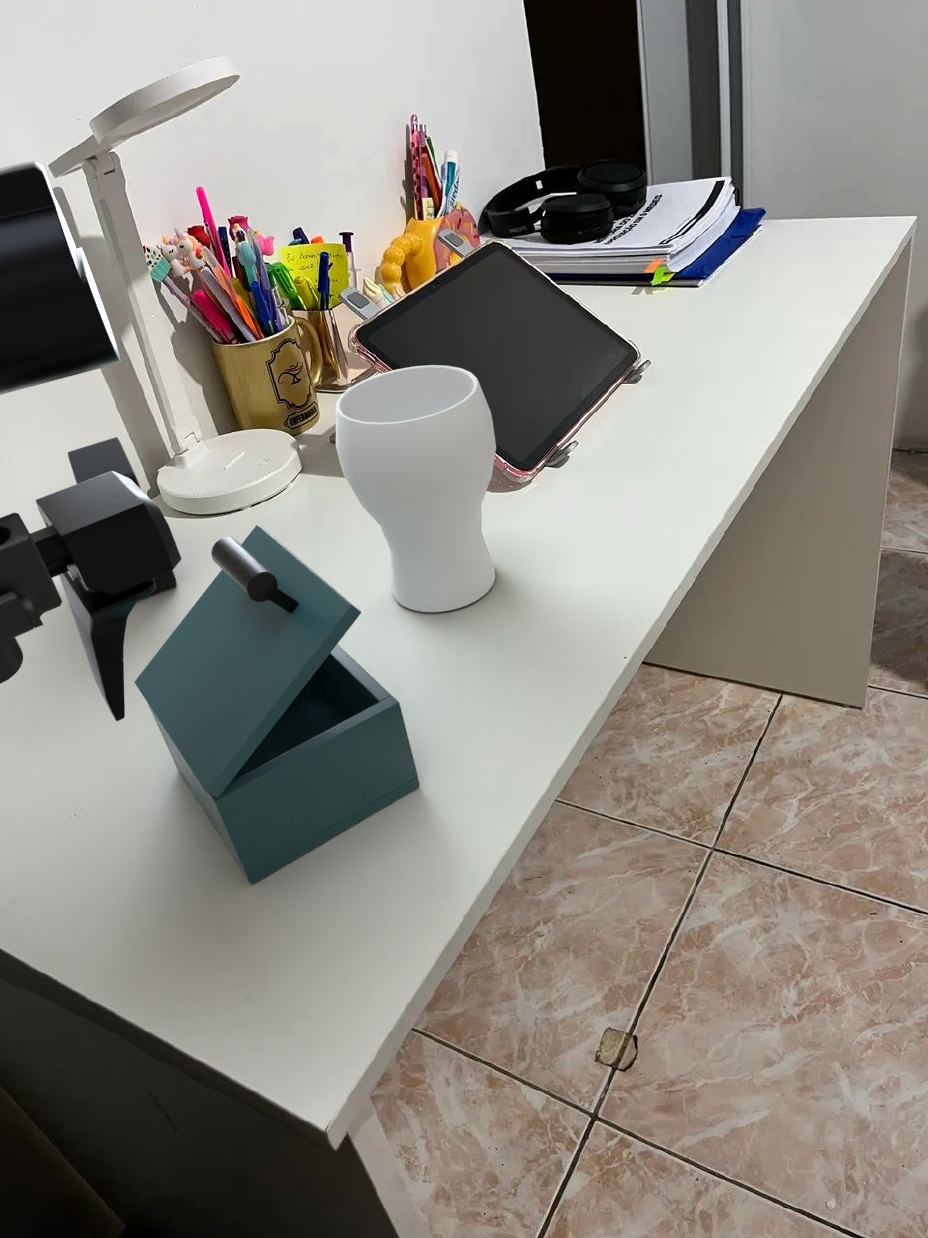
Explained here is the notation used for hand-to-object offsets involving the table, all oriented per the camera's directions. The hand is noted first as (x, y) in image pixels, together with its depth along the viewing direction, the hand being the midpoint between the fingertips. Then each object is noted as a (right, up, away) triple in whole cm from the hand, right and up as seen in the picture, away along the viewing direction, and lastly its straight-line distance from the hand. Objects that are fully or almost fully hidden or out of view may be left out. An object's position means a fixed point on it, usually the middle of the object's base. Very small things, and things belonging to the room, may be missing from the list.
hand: (17, 764), depth 42 cm
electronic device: (-7, +10, +38) cm, 40 cm away
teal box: (+10, -3, +14) cm, 17 cm away
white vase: (+18, +9, +29) cm, 35 cm away
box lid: (+8, +5, +9) cm, 13 cm away
